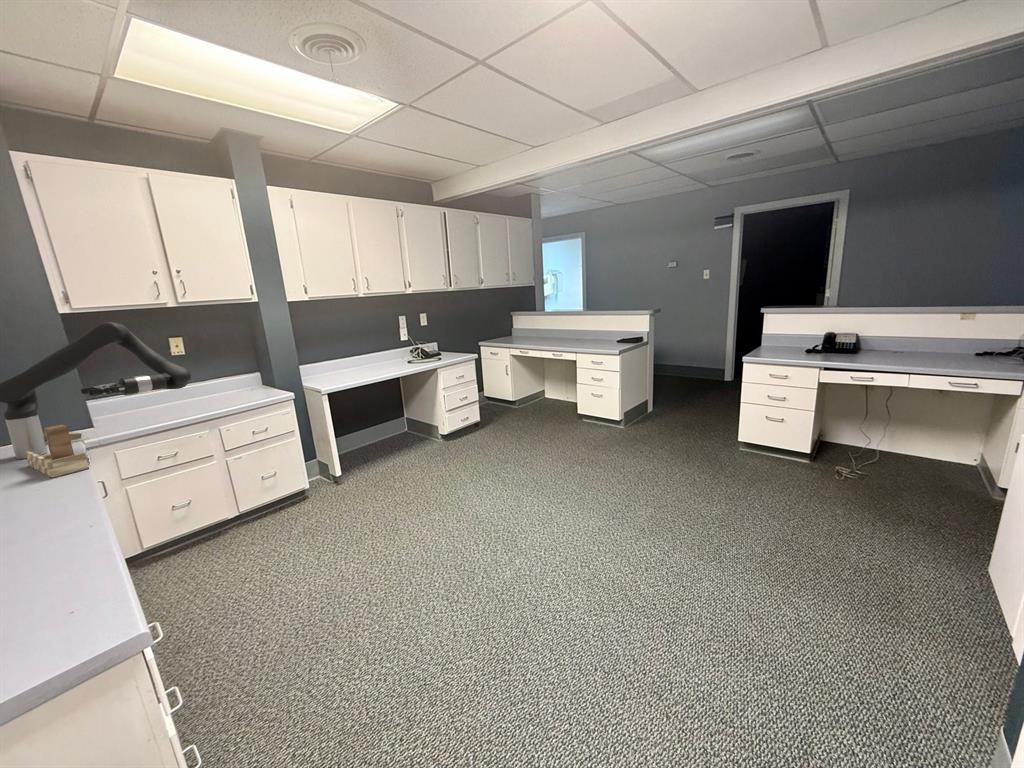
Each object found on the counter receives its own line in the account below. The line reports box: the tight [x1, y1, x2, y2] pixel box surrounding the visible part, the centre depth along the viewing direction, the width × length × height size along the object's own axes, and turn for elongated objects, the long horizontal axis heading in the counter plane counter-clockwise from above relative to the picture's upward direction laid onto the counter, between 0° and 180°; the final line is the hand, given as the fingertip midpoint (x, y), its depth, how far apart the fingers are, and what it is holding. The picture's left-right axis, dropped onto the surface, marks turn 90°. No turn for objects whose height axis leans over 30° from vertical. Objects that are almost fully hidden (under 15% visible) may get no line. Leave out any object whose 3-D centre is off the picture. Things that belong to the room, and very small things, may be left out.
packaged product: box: [43, 431, 89, 445], centre depth 201 cm, size 18×5×10 cm
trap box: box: [26, 451, 90, 479], centre depth 163 cm, size 28×10×6 cm, turn 60°
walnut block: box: [43, 424, 75, 460], centre depth 157 cm, size 5×5×14 cm
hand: (85, 392), depth 168 cm, fingers open, 8 cm apart
